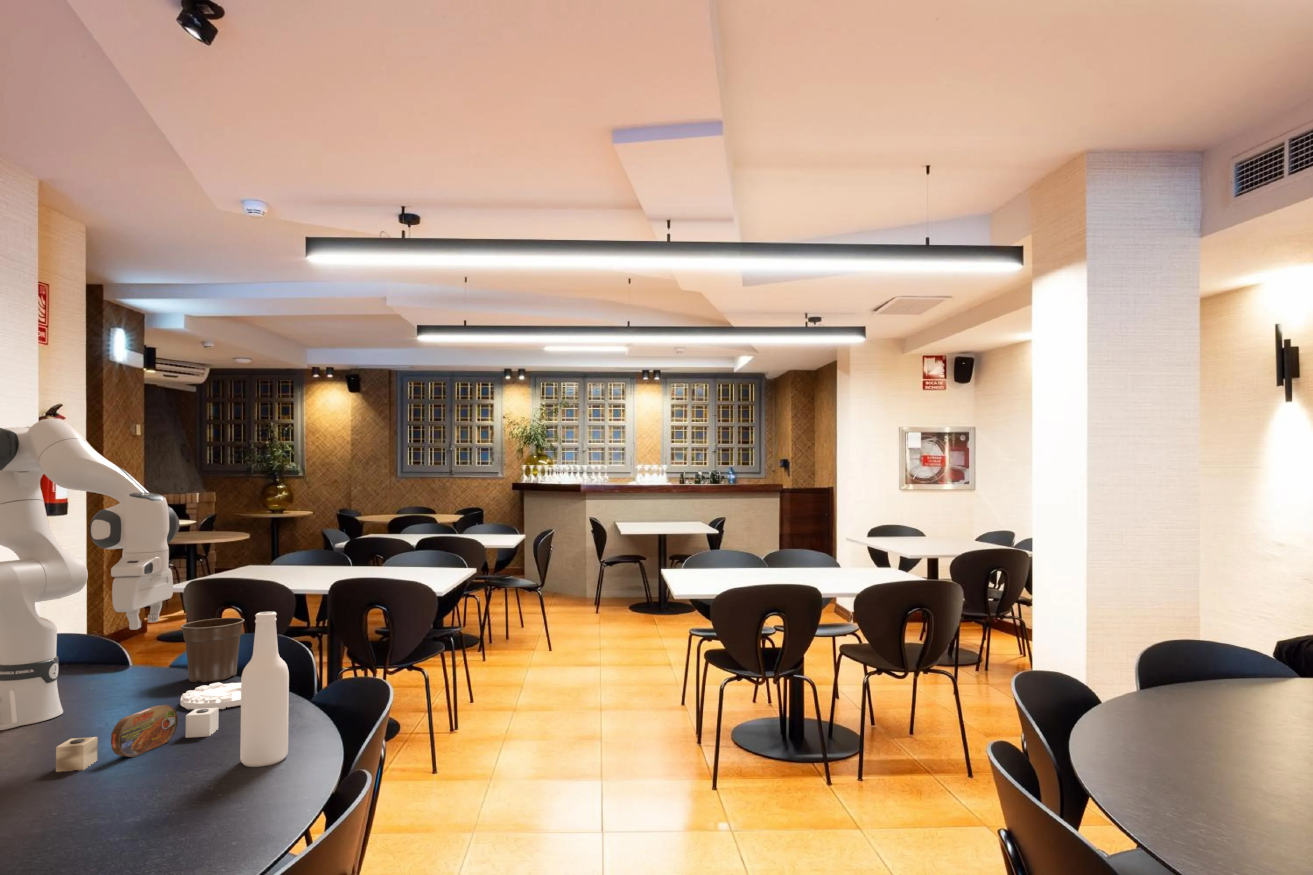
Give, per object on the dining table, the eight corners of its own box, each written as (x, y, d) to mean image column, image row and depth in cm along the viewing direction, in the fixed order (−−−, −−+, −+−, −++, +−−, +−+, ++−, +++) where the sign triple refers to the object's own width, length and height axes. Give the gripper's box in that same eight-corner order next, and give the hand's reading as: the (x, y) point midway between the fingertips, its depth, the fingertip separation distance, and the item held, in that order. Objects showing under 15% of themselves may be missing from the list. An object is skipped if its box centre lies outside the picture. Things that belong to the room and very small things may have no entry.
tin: (119, 762, 159) (120, 721, 159) (107, 762, 159) (108, 720, 160) (178, 738, 173) (179, 700, 174) (167, 737, 174) (167, 699, 174)
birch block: (55, 772, 154) (56, 745, 154) (70, 763, 159) (70, 737, 159) (83, 770, 155) (83, 743, 155) (97, 761, 160) (97, 735, 160)
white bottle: (297, 754, 162) (298, 610, 163) (263, 769, 153) (265, 617, 155) (265, 750, 165) (266, 608, 166) (230, 765, 156) (231, 615, 158)
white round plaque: (279, 699, 204) (279, 688, 204) (196, 717, 189) (196, 705, 189) (249, 686, 217) (249, 676, 217) (169, 702, 203) (169, 690, 203)
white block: (185, 737, 174) (185, 714, 174) (195, 730, 179) (195, 707, 179) (209, 736, 174) (209, 713, 175) (218, 729, 179) (218, 706, 180)
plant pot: (171, 678, 225) (172, 623, 226) (230, 667, 238) (231, 615, 239) (192, 688, 215) (193, 629, 216) (253, 676, 227) (253, 620, 228)
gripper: (152, 559, 185) (151, 617, 185) (106, 569, 165) (105, 635, 164) (181, 558, 186) (180, 616, 186) (138, 568, 166) (137, 633, 165)
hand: (144, 625), depth 175 cm, fingers open, 7 cm apart
